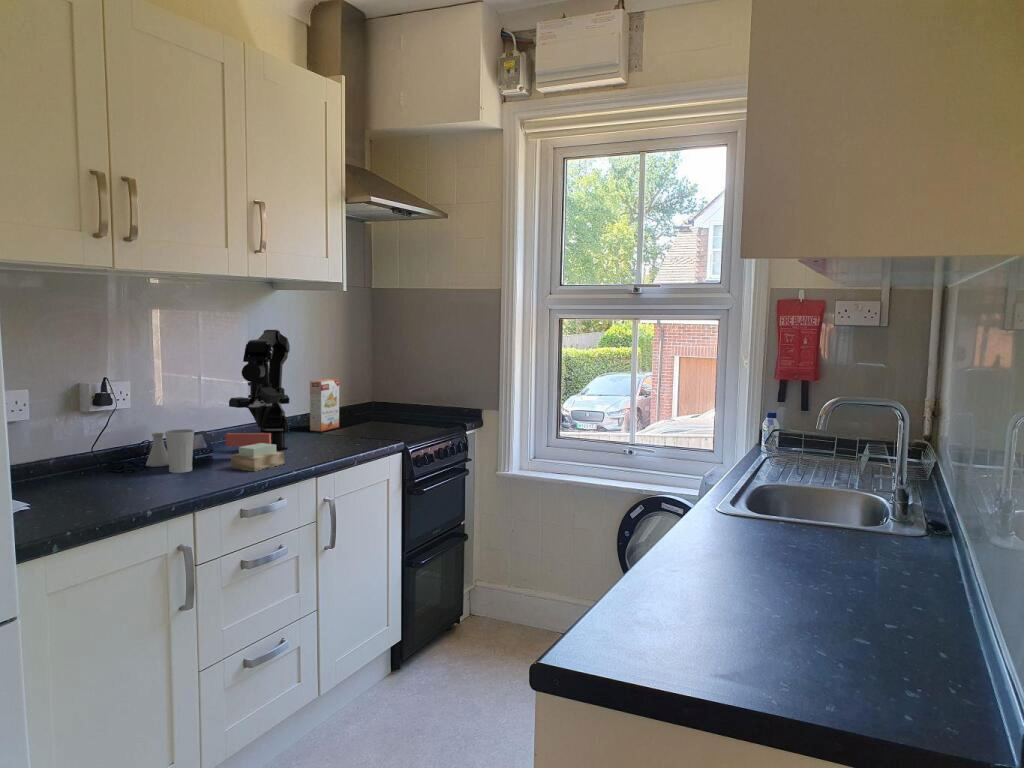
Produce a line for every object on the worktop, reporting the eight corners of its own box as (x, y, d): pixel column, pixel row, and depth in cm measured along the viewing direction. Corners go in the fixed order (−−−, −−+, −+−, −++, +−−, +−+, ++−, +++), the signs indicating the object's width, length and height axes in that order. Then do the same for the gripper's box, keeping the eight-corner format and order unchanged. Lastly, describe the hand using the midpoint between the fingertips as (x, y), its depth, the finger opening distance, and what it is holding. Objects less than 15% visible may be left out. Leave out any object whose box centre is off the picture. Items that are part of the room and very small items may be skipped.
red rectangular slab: (226, 455, 231) (225, 434, 231) (228, 454, 233) (227, 433, 233) (269, 455, 232) (269, 434, 232) (271, 454, 234) (270, 433, 234)
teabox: (261, 461, 227) (261, 449, 227) (284, 464, 223) (284, 452, 222) (230, 468, 217) (230, 455, 216) (254, 471, 212) (254, 458, 212)
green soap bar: (261, 450, 225) (261, 442, 225) (276, 452, 222) (276, 444, 222) (238, 455, 217) (238, 447, 217) (253, 457, 214) (253, 449, 214)
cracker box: (322, 432, 290) (321, 381, 288) (309, 431, 291) (308, 380, 290) (340, 427, 303) (339, 379, 301) (328, 426, 305) (327, 378, 303)
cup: (199, 470, 213) (198, 431, 212) (172, 474, 207) (170, 434, 206) (189, 466, 218) (188, 428, 217) (162, 470, 213) (160, 431, 212)
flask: (176, 463, 224) (175, 432, 223) (163, 467, 217) (162, 435, 216) (154, 462, 224) (153, 431, 224) (140, 467, 217) (139, 435, 216)
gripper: (247, 382, 215) (248, 432, 217) (299, 379, 230) (299, 426, 231) (227, 380, 222) (228, 429, 223) (279, 377, 237) (279, 423, 238)
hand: (260, 427), depth 229 cm, fingers closed
